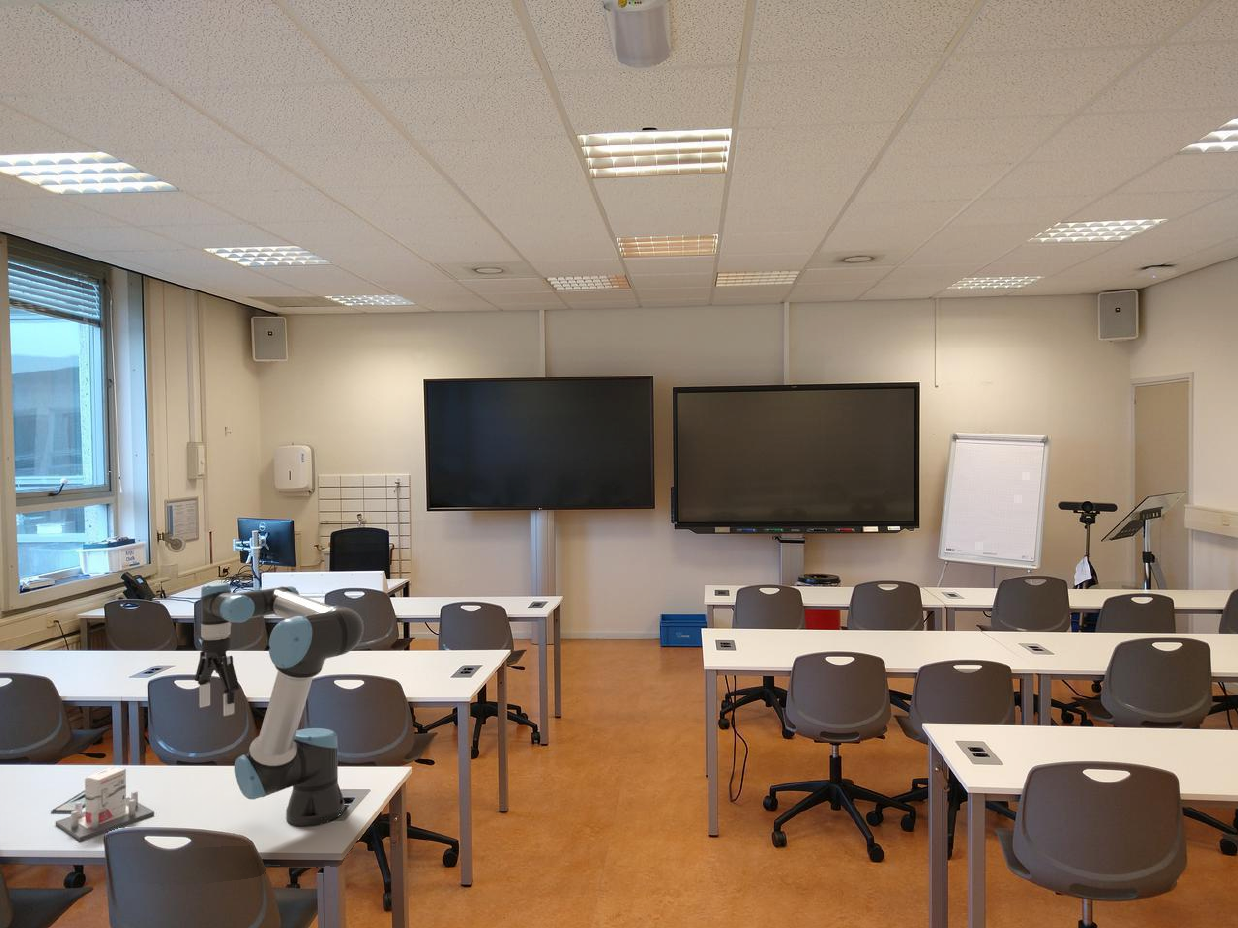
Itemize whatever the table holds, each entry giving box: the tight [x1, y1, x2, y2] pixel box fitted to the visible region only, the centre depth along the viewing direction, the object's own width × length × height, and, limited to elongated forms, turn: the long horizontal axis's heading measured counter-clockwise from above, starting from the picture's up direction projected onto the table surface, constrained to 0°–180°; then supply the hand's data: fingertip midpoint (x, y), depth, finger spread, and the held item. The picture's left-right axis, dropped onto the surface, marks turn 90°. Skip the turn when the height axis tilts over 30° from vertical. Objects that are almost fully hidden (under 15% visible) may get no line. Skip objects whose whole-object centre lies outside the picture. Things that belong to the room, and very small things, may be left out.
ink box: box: [84, 766, 127, 823], centre depth 209 cm, size 9×5×12 cm, turn 163°
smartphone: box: [50, 789, 86, 814], centre depth 221 cm, size 7×1×15 cm
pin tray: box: [55, 790, 155, 842], centre depth 210 cm, size 16×18×5 cm
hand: (216, 710), depth 220 cm, fingers open, 13 cm apart
